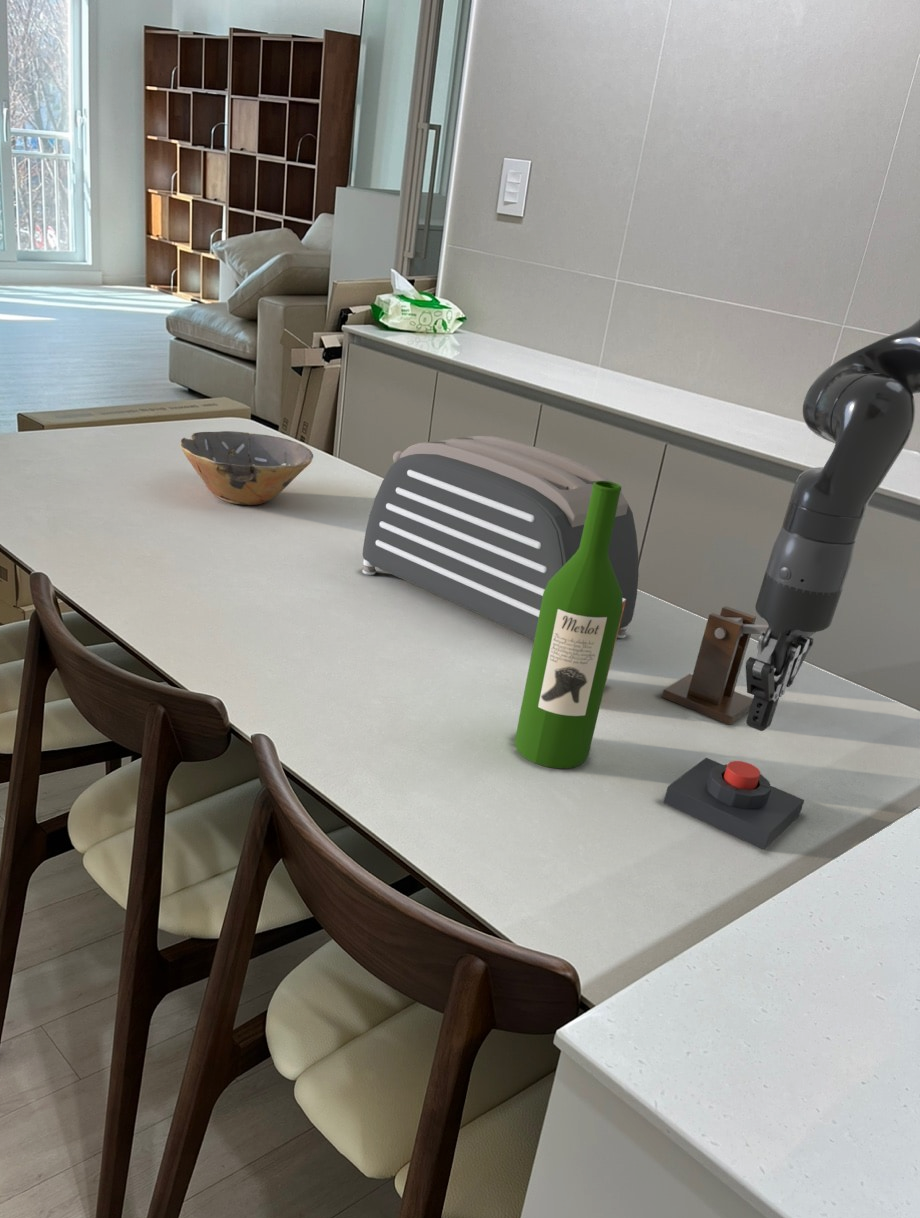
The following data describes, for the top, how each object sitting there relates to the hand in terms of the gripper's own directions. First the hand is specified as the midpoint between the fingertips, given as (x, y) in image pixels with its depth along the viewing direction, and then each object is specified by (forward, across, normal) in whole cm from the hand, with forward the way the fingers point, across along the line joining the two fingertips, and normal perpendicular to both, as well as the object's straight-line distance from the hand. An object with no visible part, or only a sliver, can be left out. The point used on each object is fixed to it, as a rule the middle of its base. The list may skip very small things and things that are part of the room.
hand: (757, 726), depth 114 cm
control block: (+11, 0, 0) cm, 11 cm away
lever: (-1, +24, +9) cm, 26 cm away
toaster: (+11, +28, +55) cm, 63 cm away
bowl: (+11, +31, +113) cm, 118 cm away
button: (+7, 0, 0) cm, 7 cm away
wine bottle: (+11, -5, +21) cm, 24 cm away
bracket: (+11, +24, +14) cm, 30 cm away
